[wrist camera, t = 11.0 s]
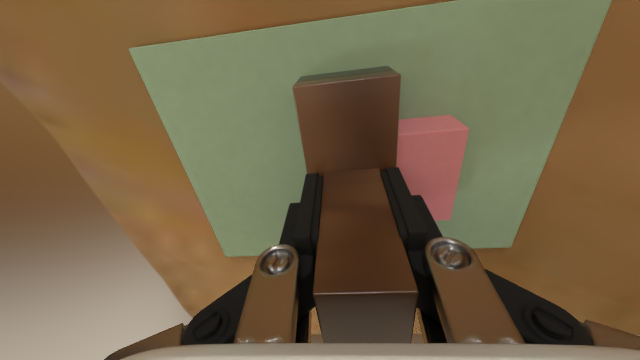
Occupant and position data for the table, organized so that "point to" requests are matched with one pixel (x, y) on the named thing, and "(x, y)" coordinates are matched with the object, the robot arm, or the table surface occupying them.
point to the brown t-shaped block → (356, 205)
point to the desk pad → (415, 101)
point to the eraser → (432, 159)
